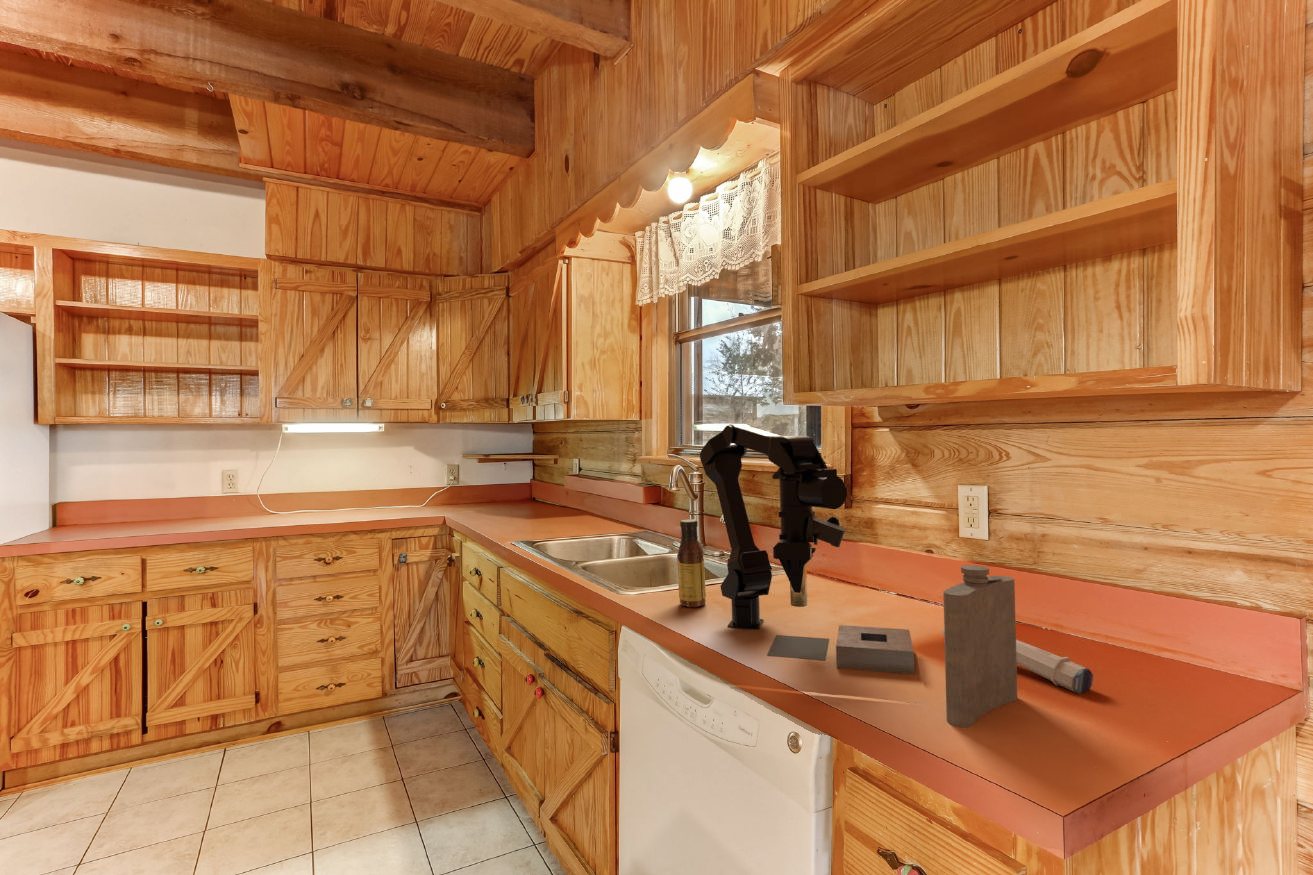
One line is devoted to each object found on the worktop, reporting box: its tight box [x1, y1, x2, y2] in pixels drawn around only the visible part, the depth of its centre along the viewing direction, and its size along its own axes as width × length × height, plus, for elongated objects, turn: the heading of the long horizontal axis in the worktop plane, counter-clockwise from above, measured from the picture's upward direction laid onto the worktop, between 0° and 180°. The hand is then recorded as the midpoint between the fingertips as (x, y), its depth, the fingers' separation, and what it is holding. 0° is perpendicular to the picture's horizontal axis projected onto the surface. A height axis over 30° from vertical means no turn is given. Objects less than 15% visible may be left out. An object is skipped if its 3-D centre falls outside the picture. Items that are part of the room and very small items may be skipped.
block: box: [835, 624, 915, 675], centre depth 110 cm, size 12×12×4 cm
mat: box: [766, 634, 830, 661], centre depth 117 cm, size 12×10×1 cm
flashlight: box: [942, 628, 1095, 695], centre depth 106 cm, size 5×7×25 cm
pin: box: [789, 564, 808, 608], centre depth 117 cm, size 3×3×9 cm
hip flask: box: [942, 564, 1018, 728], centre depth 90 cm, size 16×4×20 cm, turn 126°
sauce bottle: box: [676, 518, 707, 608], centre depth 149 cm, size 6×6×20 cm
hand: (798, 590), depth 117 cm, fingers closed on pin, 3 cm apart
